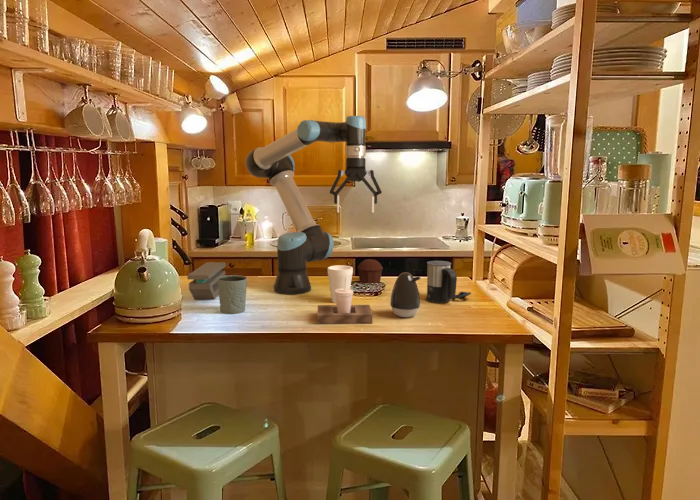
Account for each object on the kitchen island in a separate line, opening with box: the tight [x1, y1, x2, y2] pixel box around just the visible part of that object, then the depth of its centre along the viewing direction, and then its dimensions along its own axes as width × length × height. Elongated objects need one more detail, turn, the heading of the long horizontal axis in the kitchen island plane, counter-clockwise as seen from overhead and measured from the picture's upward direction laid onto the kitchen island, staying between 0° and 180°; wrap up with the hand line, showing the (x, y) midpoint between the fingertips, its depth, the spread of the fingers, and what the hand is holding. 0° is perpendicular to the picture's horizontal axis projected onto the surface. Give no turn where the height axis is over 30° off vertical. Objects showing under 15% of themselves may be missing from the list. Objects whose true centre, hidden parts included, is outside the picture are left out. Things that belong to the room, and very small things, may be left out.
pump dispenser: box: [390, 271, 421, 318], centre depth 178 cm, size 10×10×15 cm
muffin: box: [357, 258, 384, 284], centre depth 227 cm, size 12×11×10 cm
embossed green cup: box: [218, 274, 248, 315], centre depth 183 cm, size 10×10×12 cm
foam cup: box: [327, 264, 354, 304], centre depth 196 cm, size 10×9×13 cm
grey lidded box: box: [187, 261, 227, 300], centre depth 204 cm, size 25×8×11 cm, turn 179°
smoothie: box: [334, 278, 354, 313], centre depth 174 cm, size 6×6×14 cm
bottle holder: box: [316, 304, 373, 325], centre depth 175 cm, size 18×12×3 cm, turn 93°
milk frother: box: [425, 260, 472, 304], centre depth 198 cm, size 14×16×15 cm
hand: (355, 212), depth 203 cm, fingers open, 13 cm apart
